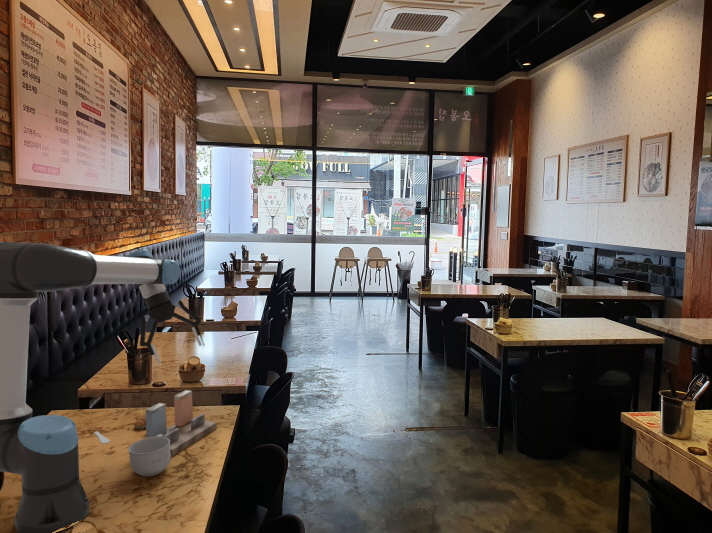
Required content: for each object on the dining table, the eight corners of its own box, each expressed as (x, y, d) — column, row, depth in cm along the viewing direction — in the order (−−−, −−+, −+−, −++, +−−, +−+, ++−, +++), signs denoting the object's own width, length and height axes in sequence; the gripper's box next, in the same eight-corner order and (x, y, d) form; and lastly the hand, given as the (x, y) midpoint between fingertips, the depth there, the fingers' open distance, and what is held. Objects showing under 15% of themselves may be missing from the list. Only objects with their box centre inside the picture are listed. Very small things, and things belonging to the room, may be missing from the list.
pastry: (144, 432, 175) (143, 421, 175) (128, 429, 178) (128, 418, 177) (164, 422, 184) (164, 411, 183) (149, 419, 186) (149, 408, 186)
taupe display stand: (172, 456, 157) (172, 440, 157) (140, 450, 161) (139, 434, 161) (216, 428, 178) (216, 413, 177) (186, 423, 182) (186, 409, 181)
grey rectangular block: (153, 442, 161) (152, 410, 160) (146, 441, 162) (145, 409, 161) (166, 434, 167) (165, 404, 166) (160, 433, 168) (159, 403, 167)
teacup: (157, 482, 142) (156, 454, 141) (120, 478, 144) (119, 450, 143) (184, 459, 155) (183, 432, 155) (150, 455, 158) (149, 429, 157)
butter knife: (101, 444, 165) (111, 441, 167) (79, 421, 183) (88, 419, 185) (101, 445, 165) (111, 442, 167) (79, 422, 183) (88, 420, 185)
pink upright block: (181, 426, 173) (180, 396, 172) (174, 425, 174) (173, 395, 173) (192, 419, 179) (192, 391, 178) (186, 418, 180) (185, 390, 179)
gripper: (192, 282, 183) (216, 339, 182) (118, 311, 174) (143, 370, 173) (192, 279, 176) (217, 338, 175) (115, 308, 167) (141, 370, 166)
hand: (180, 354), depth 174 cm, fingers open, 13 cm apart
